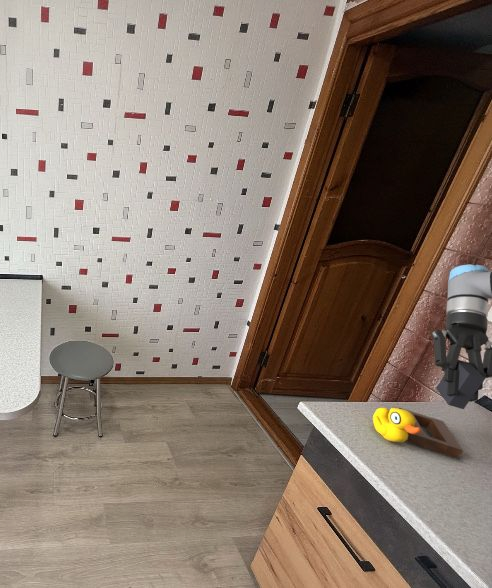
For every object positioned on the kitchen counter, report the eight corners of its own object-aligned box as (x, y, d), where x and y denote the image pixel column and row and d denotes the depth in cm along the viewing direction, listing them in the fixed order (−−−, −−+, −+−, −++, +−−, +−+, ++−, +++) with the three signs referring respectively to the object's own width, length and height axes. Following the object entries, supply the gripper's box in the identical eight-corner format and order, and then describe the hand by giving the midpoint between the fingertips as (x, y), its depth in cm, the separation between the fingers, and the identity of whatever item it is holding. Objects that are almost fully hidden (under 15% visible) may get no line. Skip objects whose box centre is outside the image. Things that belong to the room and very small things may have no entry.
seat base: (437, 428, 96) (443, 421, 95) (457, 458, 86) (463, 450, 85) (394, 415, 100) (399, 407, 99) (408, 442, 90) (413, 434, 89)
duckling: (414, 456, 86) (434, 427, 82) (393, 453, 86) (411, 424, 82) (381, 423, 97) (397, 396, 93) (362, 421, 97) (377, 394, 93)
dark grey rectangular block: (449, 392, 92) (469, 362, 88) (463, 409, 86) (485, 378, 82) (435, 388, 93) (454, 358, 89) (448, 405, 87) (469, 374, 83)
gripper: (495, 329, 92) (493, 411, 85) (420, 313, 98) (413, 388, 92) (518, 320, 85) (519, 408, 78) (437, 303, 92) (430, 383, 85)
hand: (462, 397), depth 85 cm, fingers closed on dark grey rectangular block, 3 cm apart
